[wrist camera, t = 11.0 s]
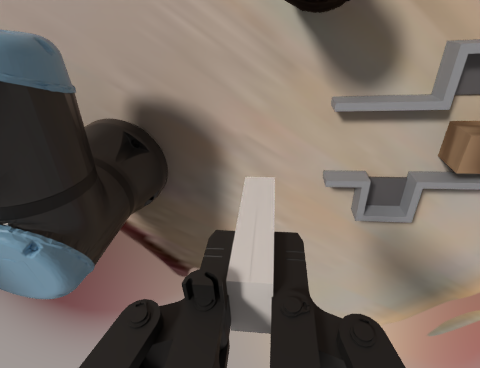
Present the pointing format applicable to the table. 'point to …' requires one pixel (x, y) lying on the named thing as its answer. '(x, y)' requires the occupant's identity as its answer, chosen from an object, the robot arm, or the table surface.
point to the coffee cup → (317, 5)
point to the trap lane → (410, 188)
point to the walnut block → (462, 147)
